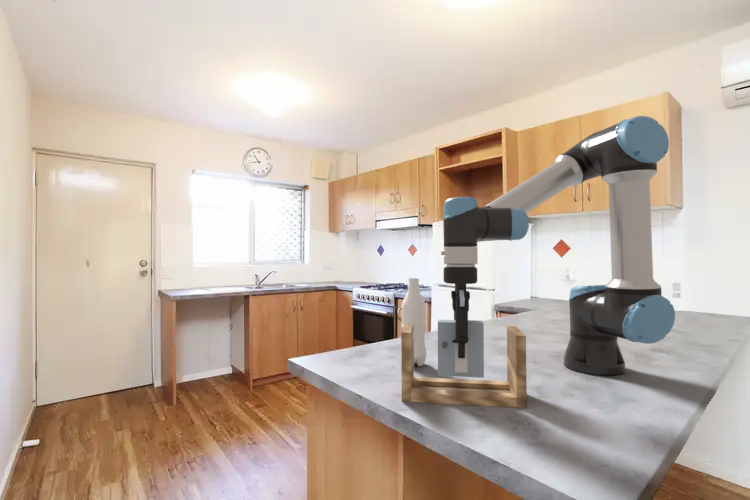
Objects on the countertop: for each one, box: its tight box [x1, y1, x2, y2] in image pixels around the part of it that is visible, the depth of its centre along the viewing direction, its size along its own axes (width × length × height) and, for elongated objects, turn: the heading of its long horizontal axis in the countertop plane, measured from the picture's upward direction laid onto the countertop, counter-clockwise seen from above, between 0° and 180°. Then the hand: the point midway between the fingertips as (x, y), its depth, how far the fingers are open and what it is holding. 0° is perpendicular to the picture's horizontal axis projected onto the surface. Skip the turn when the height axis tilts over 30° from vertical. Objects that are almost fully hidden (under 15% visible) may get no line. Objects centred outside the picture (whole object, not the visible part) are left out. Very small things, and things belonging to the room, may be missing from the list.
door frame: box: [400, 324, 528, 409], centre depth 89 cm, size 26×11×15 cm, turn 81°
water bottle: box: [400, 277, 427, 368], centre depth 114 cm, size 7×7×25 cm
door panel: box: [437, 319, 485, 379], centre depth 89 cm, size 10×4×12 cm, turn 81°
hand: (460, 368), depth 89 cm, fingers closed on door panel, 3 cm apart
